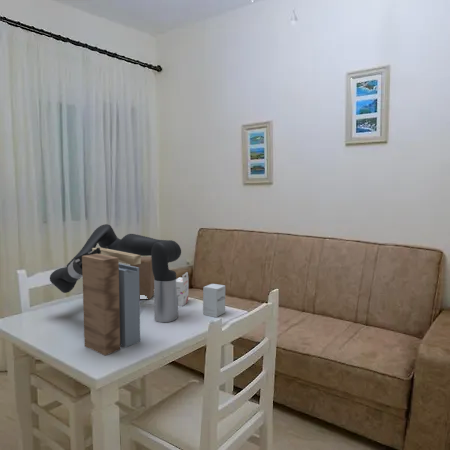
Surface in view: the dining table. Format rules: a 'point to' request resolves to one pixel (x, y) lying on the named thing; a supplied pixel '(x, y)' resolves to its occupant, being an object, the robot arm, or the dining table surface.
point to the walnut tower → (101, 303)
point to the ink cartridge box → (182, 289)
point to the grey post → (129, 305)
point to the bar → (121, 256)
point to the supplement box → (214, 300)
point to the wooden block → (146, 277)
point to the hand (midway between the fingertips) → (103, 249)
